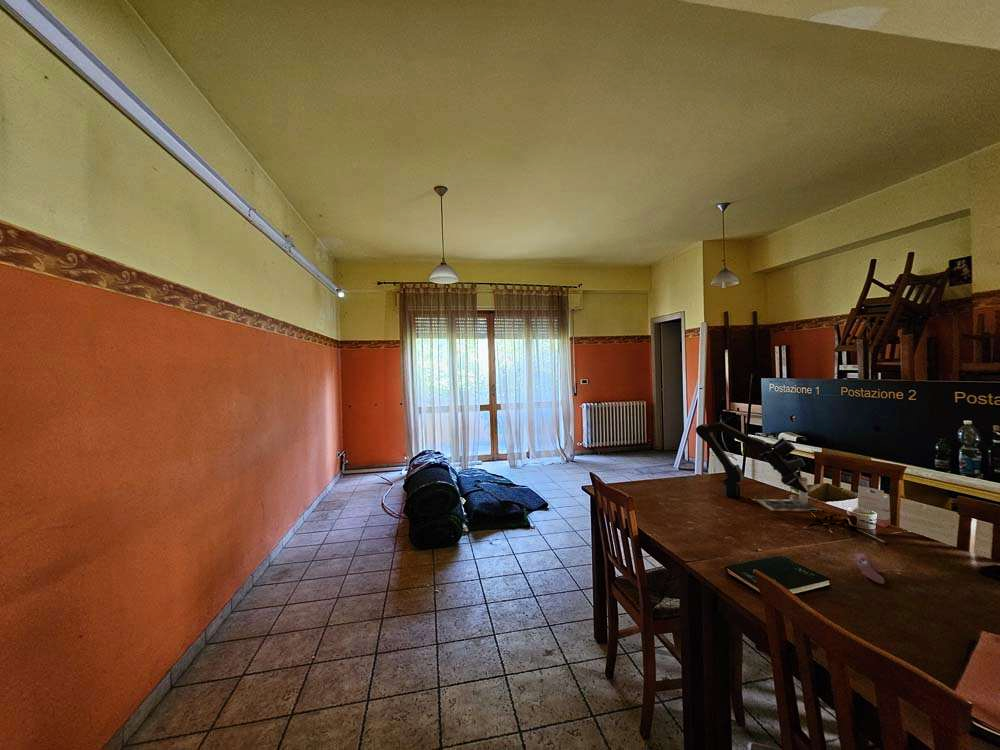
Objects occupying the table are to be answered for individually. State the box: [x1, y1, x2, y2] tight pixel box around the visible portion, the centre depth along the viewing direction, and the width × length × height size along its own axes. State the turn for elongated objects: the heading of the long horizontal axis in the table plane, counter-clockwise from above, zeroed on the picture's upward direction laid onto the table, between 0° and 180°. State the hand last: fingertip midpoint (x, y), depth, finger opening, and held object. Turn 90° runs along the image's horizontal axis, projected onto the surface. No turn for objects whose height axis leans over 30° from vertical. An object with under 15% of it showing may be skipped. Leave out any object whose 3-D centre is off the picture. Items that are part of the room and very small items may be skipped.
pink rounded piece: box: [853, 553, 886, 585], centre depth 116 cm, size 10×5×7 cm, turn 142°
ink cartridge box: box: [857, 485, 891, 528], centre depth 153 cm, size 9×5×15 cm, turn 25°
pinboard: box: [756, 494, 817, 512], centre depth 173 cm, size 19×12×4 cm, turn 84°
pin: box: [798, 476, 809, 505], centre depth 170 cm, size 3×3×13 cm
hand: (807, 489), depth 169 cm, fingers open, 9 cm apart
